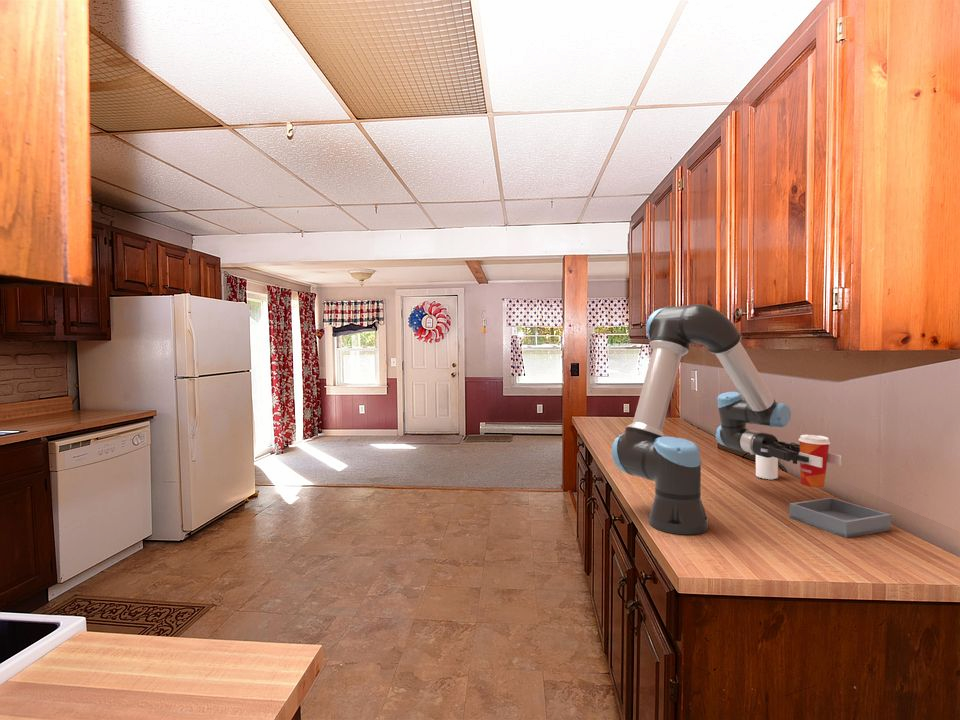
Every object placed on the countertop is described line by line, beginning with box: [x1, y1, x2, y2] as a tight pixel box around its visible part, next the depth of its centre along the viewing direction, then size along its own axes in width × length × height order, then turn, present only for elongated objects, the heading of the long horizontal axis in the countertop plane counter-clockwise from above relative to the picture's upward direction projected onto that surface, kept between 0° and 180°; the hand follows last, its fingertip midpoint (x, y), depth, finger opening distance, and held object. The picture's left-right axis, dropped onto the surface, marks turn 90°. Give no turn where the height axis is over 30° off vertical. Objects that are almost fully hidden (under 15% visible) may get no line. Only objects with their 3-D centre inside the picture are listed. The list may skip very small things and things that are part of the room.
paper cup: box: [797, 434, 831, 489], centre depth 142 cm, size 8×8×14 cm
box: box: [788, 497, 892, 539], centre depth 134 cm, size 16×16×4 cm
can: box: [755, 454, 779, 481], centre depth 180 cm, size 7×7×12 cm
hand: (831, 461), depth 137 cm, fingers closed on paper cup, 7 cm apart
